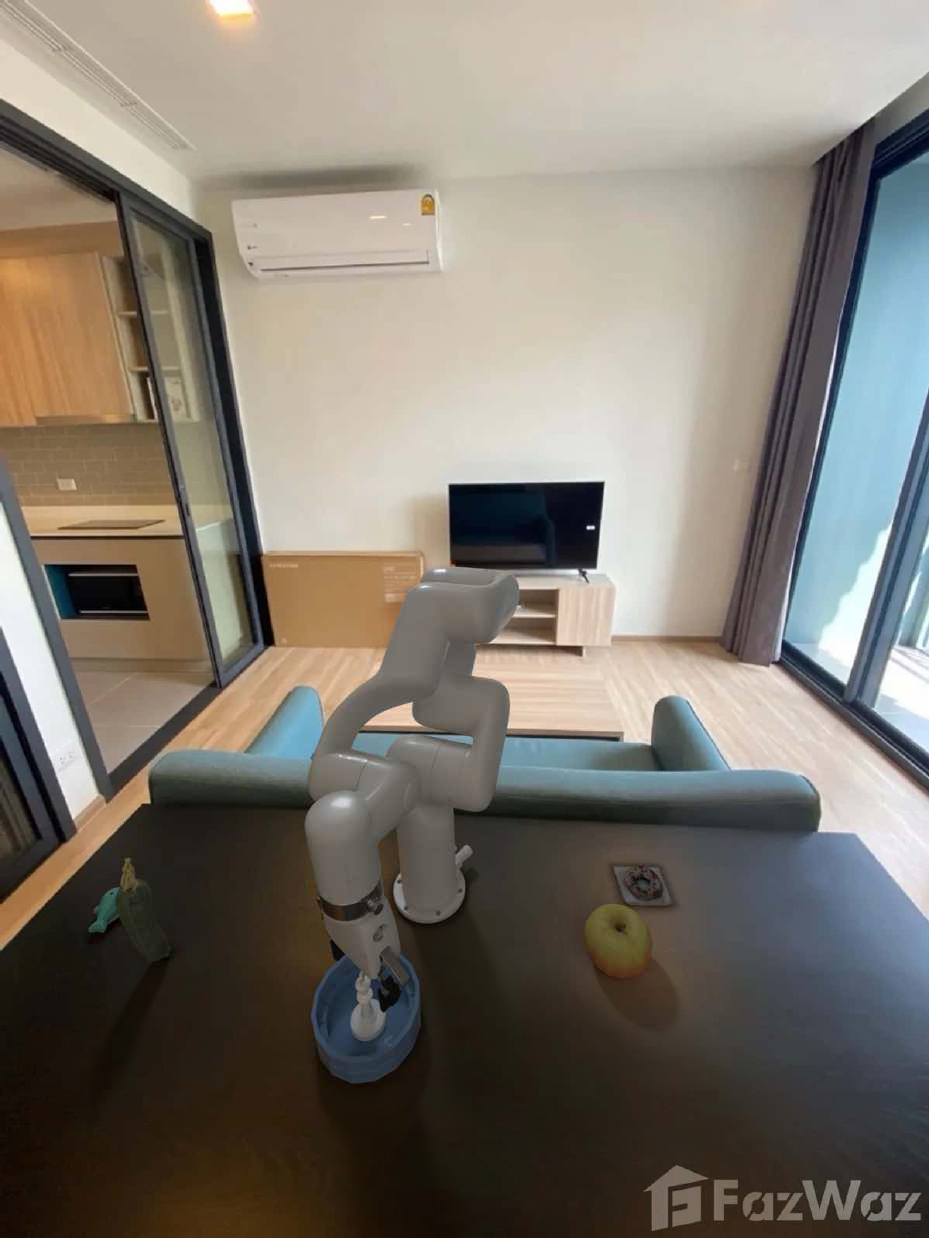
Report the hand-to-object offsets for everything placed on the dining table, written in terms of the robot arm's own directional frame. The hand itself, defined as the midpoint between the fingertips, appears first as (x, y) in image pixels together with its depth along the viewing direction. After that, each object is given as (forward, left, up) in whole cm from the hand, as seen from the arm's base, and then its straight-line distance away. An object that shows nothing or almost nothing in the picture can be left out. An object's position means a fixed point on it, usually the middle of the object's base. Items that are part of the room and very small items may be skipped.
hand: (366, 975), depth 66 cm
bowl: (+1, 0, -9) cm, 9 cm away
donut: (-44, +20, -9) cm, 49 cm away
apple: (-29, +22, -9) cm, 38 cm away
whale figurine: (+19, -46, -9) cm, 50 cm away
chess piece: (+1, 0, -8) cm, 8 cm away
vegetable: (+17, -32, -9) cm, 37 cm away
